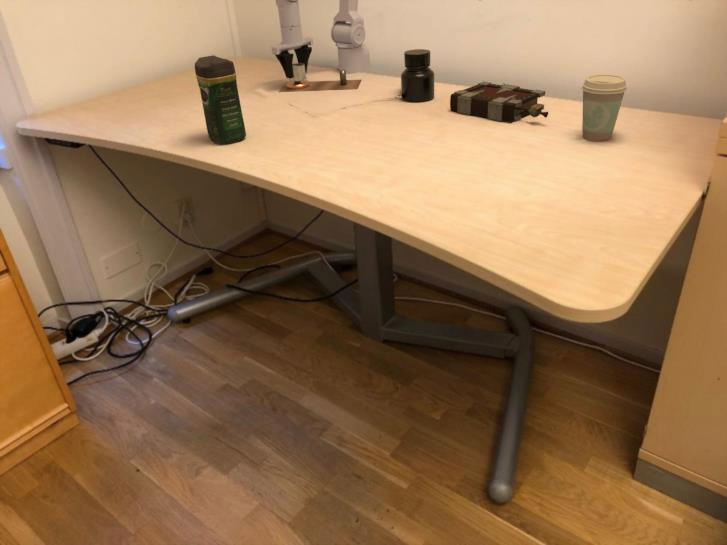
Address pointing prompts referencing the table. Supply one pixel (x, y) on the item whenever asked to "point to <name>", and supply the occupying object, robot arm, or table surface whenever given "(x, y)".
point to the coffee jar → (220, 99)
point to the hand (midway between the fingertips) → (296, 75)
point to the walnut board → (325, 86)
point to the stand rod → (343, 77)
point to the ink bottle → (417, 76)
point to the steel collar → (298, 72)
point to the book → (498, 102)
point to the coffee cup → (601, 105)
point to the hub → (297, 84)
